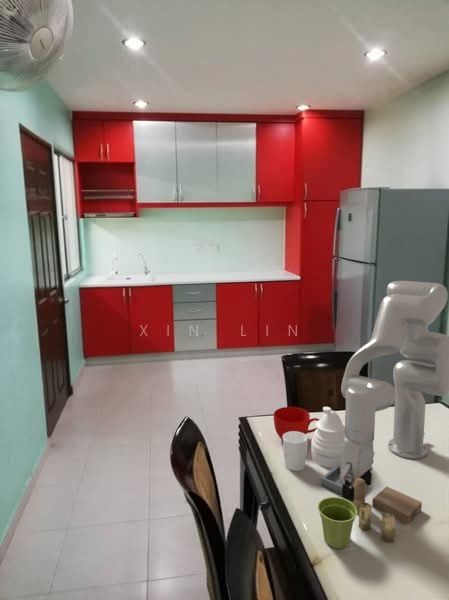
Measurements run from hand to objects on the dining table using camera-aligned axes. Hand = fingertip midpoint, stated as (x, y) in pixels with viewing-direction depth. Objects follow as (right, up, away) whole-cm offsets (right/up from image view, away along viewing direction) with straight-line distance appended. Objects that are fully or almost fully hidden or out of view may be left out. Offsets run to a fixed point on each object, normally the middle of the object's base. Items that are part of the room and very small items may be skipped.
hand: (356, 491), depth 115 cm
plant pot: (-8, -8, -10) cm, 15 cm away
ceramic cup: (-10, +1, +39) cm, 40 cm away
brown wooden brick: (+11, -6, +1) cm, 12 cm away
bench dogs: (+2, -7, -8) cm, 11 cm away
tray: (0, -4, +12) cm, 12 cm away
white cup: (-13, -2, +23) cm, 26 cm away
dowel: (0, -5, +1) cm, 6 cm away
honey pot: (0, -1, +27) cm, 27 cm away
